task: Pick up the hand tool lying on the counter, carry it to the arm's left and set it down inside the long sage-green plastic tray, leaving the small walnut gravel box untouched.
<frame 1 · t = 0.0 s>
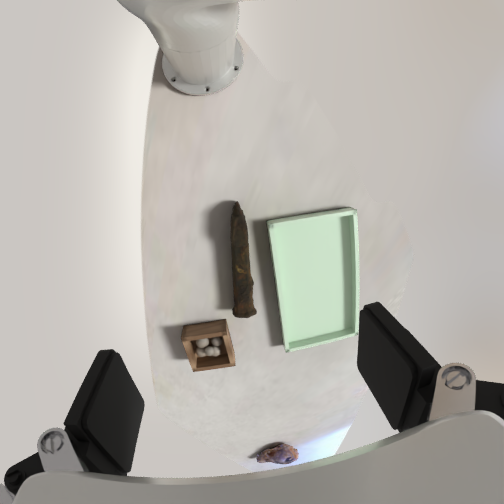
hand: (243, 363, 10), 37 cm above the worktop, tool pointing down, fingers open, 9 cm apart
tray: (316, 281, 51), on the worktop
skull: (275, 448, 67), on the worktop
hand tool: (237, 258, 48), on the worktop
gravel box: (209, 339, 52), on the worktop
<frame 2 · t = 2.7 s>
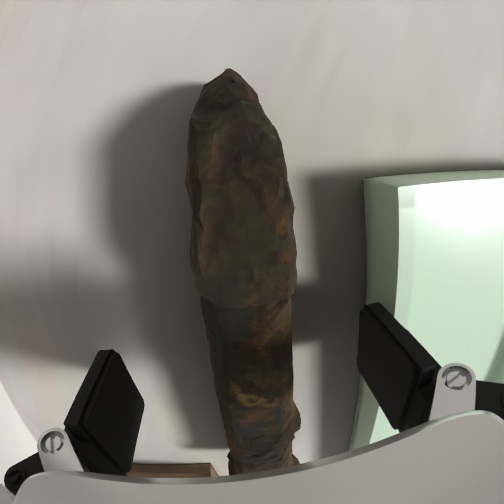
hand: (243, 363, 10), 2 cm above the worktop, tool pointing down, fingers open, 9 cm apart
tray: (451, 362, 15), on the worktop
hand tool: (234, 325, 12), on the worktop
gravel box: (175, 485, 16), on the worktop
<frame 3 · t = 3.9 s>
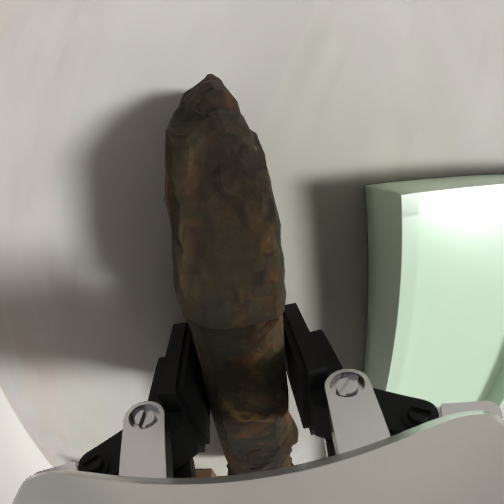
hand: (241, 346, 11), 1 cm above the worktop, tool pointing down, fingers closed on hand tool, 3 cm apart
tray: (453, 367, 14), on the worktop
hand tool: (228, 338, 12), on the worktop, touching gripper
gravel box: (176, 490, 16), on the worktop
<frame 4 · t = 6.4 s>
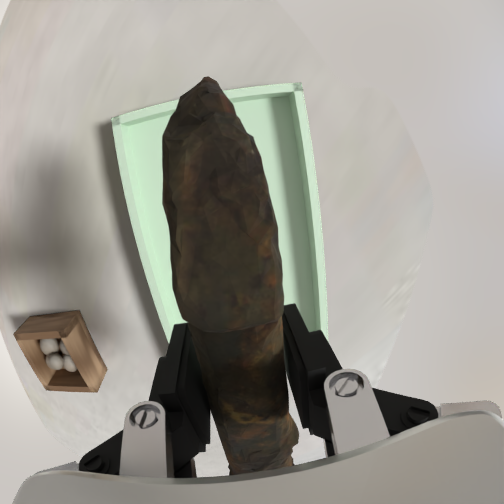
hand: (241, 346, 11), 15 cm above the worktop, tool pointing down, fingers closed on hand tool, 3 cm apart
tray: (231, 243, 25), on the worktop
hand tool: (228, 339, 12), point 14 cm above the worktop, touching gripper
gravel box: (66, 343, 27), on the worktop
when the fingers open (2 cm above the worktop, at t = 9.2 s): hand tool drops 1 cm, resting on tray.
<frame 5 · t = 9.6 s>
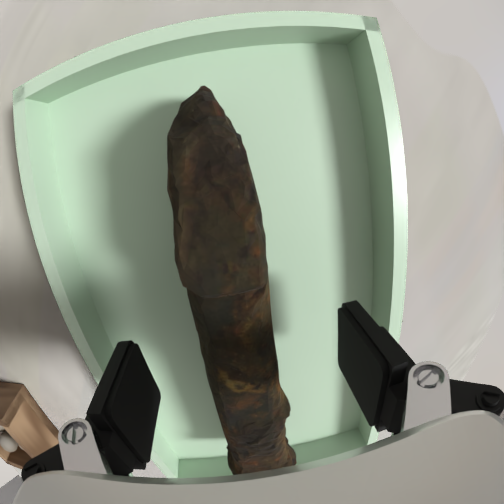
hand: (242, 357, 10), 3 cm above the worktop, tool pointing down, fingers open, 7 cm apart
tray: (237, 313, 14), on the worktop
hand tool: (225, 319, 13), resting on tray
gravel box: (20, 415, 15), on the worktop
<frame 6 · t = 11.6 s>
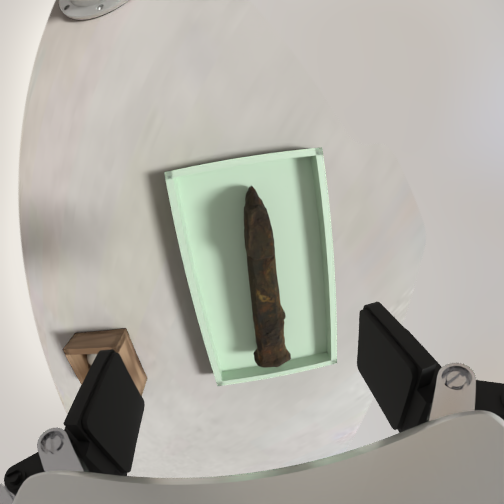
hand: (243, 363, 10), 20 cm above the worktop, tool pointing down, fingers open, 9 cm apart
tray: (261, 275, 31), on the worktop
hand tool: (256, 277, 31), resting on tray
gravel box: (110, 356, 33), on the worktop
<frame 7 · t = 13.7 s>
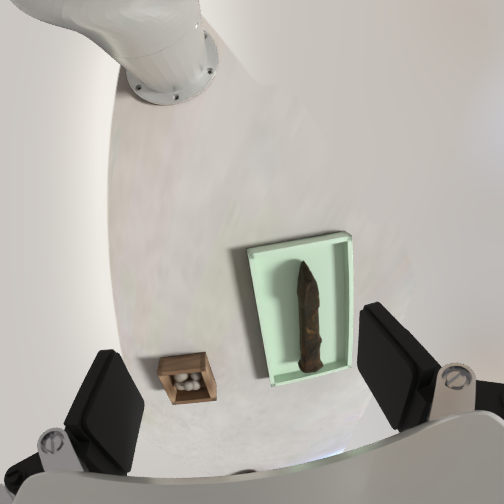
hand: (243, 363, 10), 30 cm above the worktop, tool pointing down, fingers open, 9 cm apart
tray: (304, 313, 45), on the worktop
hand tool: (302, 315, 45), resting on tray
gravel box: (189, 372, 47), on the worktop
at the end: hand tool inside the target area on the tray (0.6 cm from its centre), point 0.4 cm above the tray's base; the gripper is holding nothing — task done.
